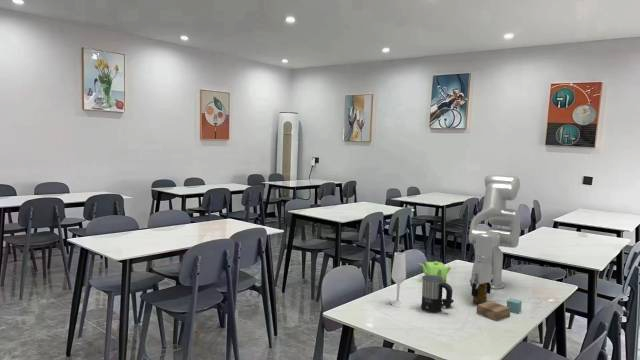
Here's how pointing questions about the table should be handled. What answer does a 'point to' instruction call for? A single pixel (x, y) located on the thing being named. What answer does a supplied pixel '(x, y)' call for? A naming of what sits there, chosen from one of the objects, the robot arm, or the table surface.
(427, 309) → the milk frother
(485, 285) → the condiment
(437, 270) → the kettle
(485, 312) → the block
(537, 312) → the table surface
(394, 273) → the champagne flute
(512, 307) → the teal cube
